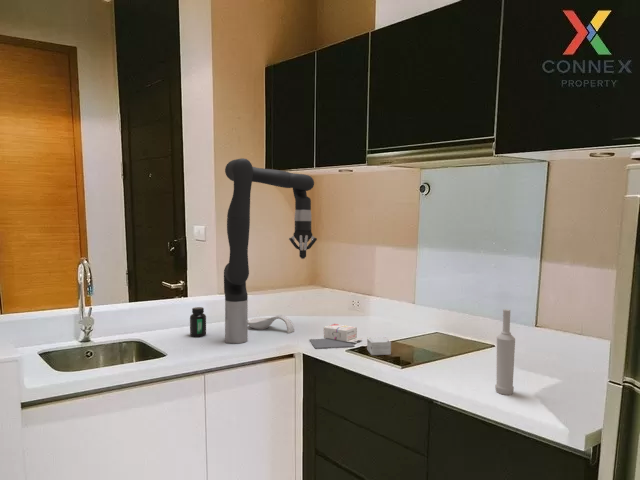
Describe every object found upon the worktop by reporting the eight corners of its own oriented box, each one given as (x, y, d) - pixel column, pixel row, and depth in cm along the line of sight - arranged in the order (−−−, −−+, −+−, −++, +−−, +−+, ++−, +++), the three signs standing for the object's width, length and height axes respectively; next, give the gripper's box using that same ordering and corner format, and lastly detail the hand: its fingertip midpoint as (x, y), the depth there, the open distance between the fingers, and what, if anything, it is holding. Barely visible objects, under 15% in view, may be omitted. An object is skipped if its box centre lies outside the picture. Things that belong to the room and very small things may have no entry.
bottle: (510, 389, 149) (512, 308, 148) (516, 395, 144) (518, 311, 143) (493, 388, 150) (495, 308, 148) (498, 394, 145) (500, 311, 143)
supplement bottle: (203, 337, 208) (202, 309, 208) (187, 337, 209) (187, 309, 208) (208, 333, 215) (208, 306, 215) (193, 333, 216) (193, 306, 215)
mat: (315, 349, 192) (315, 347, 192) (309, 340, 205) (309, 339, 205) (354, 347, 195) (354, 345, 195) (346, 338, 208) (346, 337, 208)
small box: (366, 349, 192) (366, 337, 192) (386, 349, 193) (386, 336, 193) (371, 355, 184) (371, 342, 184) (391, 355, 185) (391, 341, 185)
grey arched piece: (241, 329, 225) (241, 314, 225) (256, 324, 235) (256, 309, 235) (285, 335, 214) (285, 319, 213) (298, 330, 224) (298, 314, 224)
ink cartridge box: (334, 323, 214) (363, 327, 205) (334, 334, 214) (363, 339, 205) (323, 326, 207) (352, 331, 198) (323, 338, 207) (352, 343, 199)
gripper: (289, 220, 214) (289, 259, 215) (319, 220, 216) (318, 259, 217) (287, 219, 221) (287, 258, 222) (315, 220, 224) (315, 257, 225)
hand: (302, 258), depth 220 cm, fingers closed
